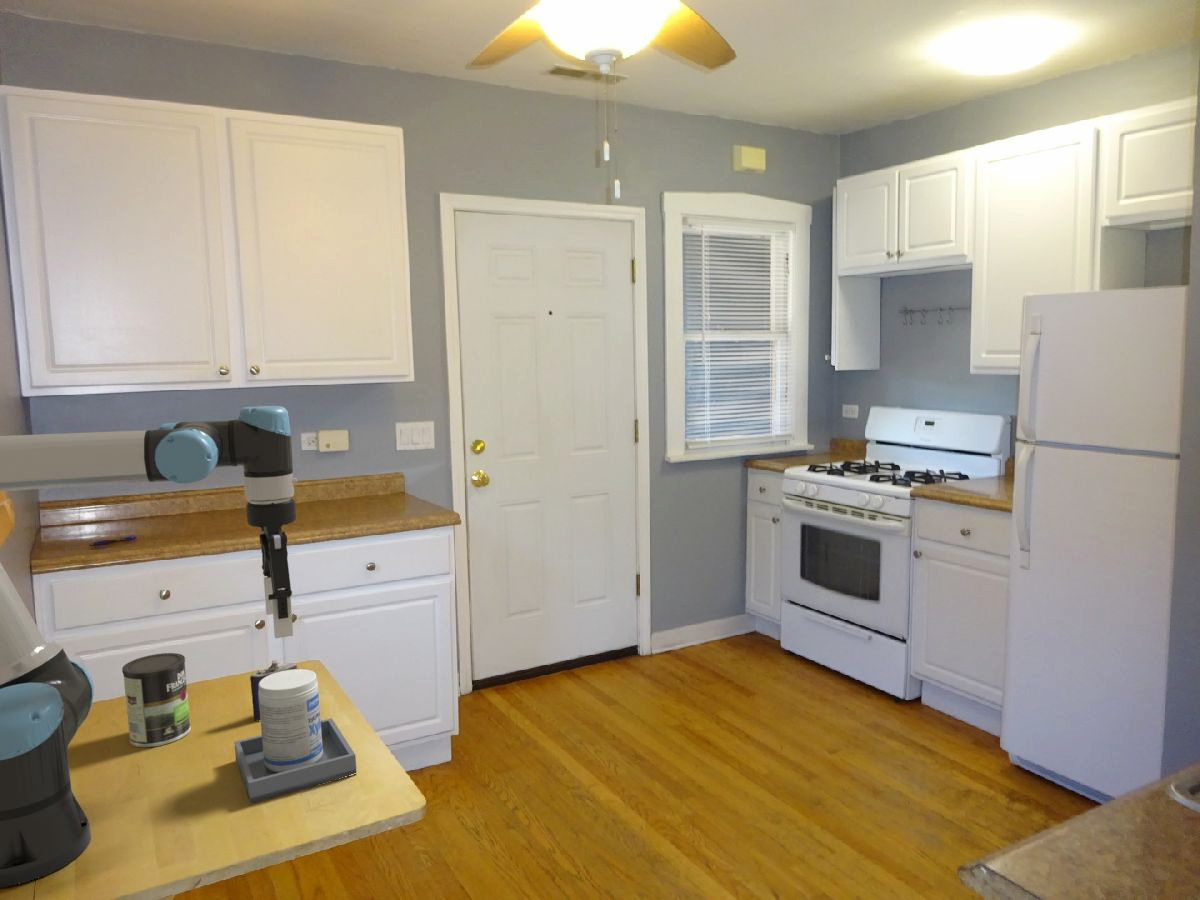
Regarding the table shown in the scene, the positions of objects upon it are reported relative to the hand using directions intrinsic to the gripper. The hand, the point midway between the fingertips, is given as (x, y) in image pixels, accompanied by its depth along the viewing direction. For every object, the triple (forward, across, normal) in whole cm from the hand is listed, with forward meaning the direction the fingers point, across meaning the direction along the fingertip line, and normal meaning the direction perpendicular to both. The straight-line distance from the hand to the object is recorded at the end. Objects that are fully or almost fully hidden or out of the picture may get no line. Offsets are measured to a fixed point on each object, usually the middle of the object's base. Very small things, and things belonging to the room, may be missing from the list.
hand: (279, 624), depth 140 cm
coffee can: (+26, +25, +20) cm, 41 cm away
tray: (+25, -1, -1) cm, 25 cm away
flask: (+25, +24, -1) cm, 35 cm away
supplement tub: (+24, -1, -1) cm, 24 cm away
